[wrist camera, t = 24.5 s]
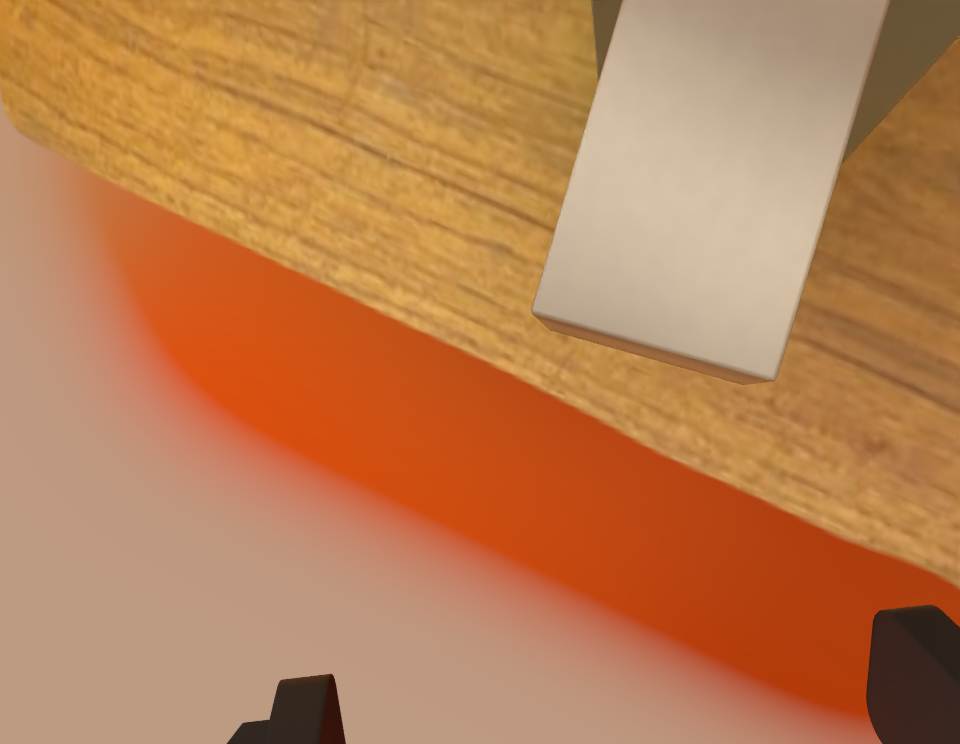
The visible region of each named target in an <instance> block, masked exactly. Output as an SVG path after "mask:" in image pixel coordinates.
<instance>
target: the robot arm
mask: <svg viewBox="0 0 960 744" xmlns="http://www.w3.org/2000/svg"><path fill="white" fill-rule="evenodd" d="M866 699H867V707H868V712H869V716H870V719H871V722H872V725H873V727H874V730H875V732H876V734H877V736H878V737H879V739H880V741H881V742H882V744H960V627H959V626H958V625H956V624H955V623H954V622H953V621H952V620H951V619H950V618H949V617H948V616H947V615H946V614H945V613H944V612H943V611H942V610H940V609H939V608H938V607H935V606H933V605H922V606H913V607H905V608H897V609H888V610H881V611H879V612H878V613H877V614H876V615H875V617H874V620H873V627H872V638H871V649H870V660H869V671H868V681H867V695H866ZM227 744H346V742H345V737H344V730H343V724H342V718H341V712H340V706H339V701H338V694H337V688H336V683H335V679H334V676H333V675H332V674H327V675H318V676H310V677H301V678H293V679H284V680H281V681H280V682H279V684H278V687H277V691H276V695H275V699H274V703H273V708H272V712H271V716H270V720H263V721H255V722H247V723H243V724H242V725H241V726H240V727H239V729H238V730H237V731H236V732H235V734H234V735H233V736H232V738H231V739H230V740H229V741H228V743H227Z"/></svg>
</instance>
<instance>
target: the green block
mask: <svg viewBox="0 0 960 744" xmlns="http://www.w3.org/2000/svg"><path fill="white" fill-rule="evenodd" d="M622 1H623V0H591V3H592V15H593V27H594V39H595V51H596V63H597V75H598V82H599V79H600V75H601V72H602V68H603V65H604V62H605V58H606V55H607V52H608V48H609V45H610V41H611V38H612V35H613V31H614V28H615V25H616V21H617V18H618V14H619V11H620V8H621V4H622ZM959 35H960V0H891V1H890V4H889V8H888V11H887V14H886V18H885V21H884V24H883V28H882V31H881V34H880V38H879V41H878V44H877V48H876V51H875V54H874V57H873V61H872V64H871V67H870V71H869V74H868V77H867V81H866V84H865V87H864V91H863V94H862V97H861V101H860V104H859V107H858V110H857V114H856V117H855V120H854V124H853V127H852V130H851V134H850V137H849V140H848V144H847V147H846V150H845V154H844V157H843V160H842V163H843V162H844V161H845V160H846V159H847V157H848V156H849V155H850V154H851V153H852V152H853V151H854V150H855V149H856V148H857V147H858V145H859V144H860V143H861V142H862V141H863V140H864V139H865V138H866V137H867V136H868V135H869V134H870V132H871V131H872V130H873V129H874V128H875V127H876V126H877V125H878V124H879V123H880V122H881V120H882V119H883V118H884V117H885V116H886V115H887V114H888V113H889V112H890V111H891V110H892V108H893V107H894V106H895V105H896V104H897V103H898V102H899V101H900V100H901V99H902V98H903V96H904V95H905V94H906V93H907V92H908V91H909V90H910V89H911V88H912V87H913V86H914V84H915V83H916V82H917V81H918V80H919V79H920V78H921V77H922V76H923V75H924V74H925V73H926V71H927V70H928V69H929V68H930V67H931V66H932V65H933V64H934V63H935V62H936V61H937V59H938V58H939V57H940V56H941V55H942V54H943V53H944V52H945V51H946V50H947V49H948V47H949V46H950V45H951V44H952V43H953V42H954V41H955V40H956V39H957V38H958V37H959ZM842 163H841V164H842Z"/></svg>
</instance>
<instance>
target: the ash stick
mask: <svg viewBox="0 0 960 744" xmlns="http://www.w3.org/2000/svg"><path fill="white" fill-rule="evenodd" d="M890 1H891V0H623V1H622V4H621V8H620V11H619V14H618V18H617V21H616V25H615V28H614V31H613V35H612V38H611V41H610V45H609V48H608V52H607V55H606V58H605V62H604V65H603V68H602V72H601V75H600V79H599V82H598V85H597V89H596V92H595V96H594V99H593V102H592V106H591V109H590V112H589V116H588V119H587V123H586V126H585V129H584V133H583V136H582V139H581V143H580V146H579V150H578V153H577V156H576V160H575V163H574V167H573V170H572V173H571V177H570V180H569V183H568V187H567V190H566V194H565V197H564V200H563V204H562V207H561V211H560V214H559V217H558V221H557V224H556V227H555V231H554V234H553V238H552V241H551V244H550V248H549V251H548V254H547V258H546V261H545V265H544V268H543V271H542V275H541V278H540V282H539V285H538V288H537V292H536V295H535V298H534V302H533V305H532V309H531V311H532V314H533V315H534V316H535V317H537V318H538V319H539V320H540V321H541V322H542V323H543V324H544V325H545V326H546V327H547V328H548V329H550V330H551V331H555V332H558V333H562V334H565V335H569V336H573V337H576V338H580V339H583V340H587V341H590V342H594V343H597V344H601V345H604V346H608V347H611V348H615V349H618V350H622V351H625V352H629V353H633V354H636V355H640V356H643V357H647V358H650V359H654V360H657V361H661V362H664V363H668V364H671V365H675V366H678V367H682V368H685V369H689V370H692V371H696V372H700V373H703V374H707V375H710V376H714V377H717V378H721V379H724V380H728V381H731V382H735V383H738V384H742V385H747V384H755V383H763V382H771V381H775V379H776V378H777V375H778V372H779V369H780V366H781V362H782V359H783V356H784V352H785V349H786V346H787V342H788V339H789V336H790V332H791V329H792V326H793V322H794V319H795V316H796V313H797V309H798V306H799V303H800V299H801V296H802V293H803V289H804V286H805V283H806V279H807V276H808V273H809V269H810V266H811V263H812V260H813V256H814V253H815V250H816V246H817V243H818V240H819V236H820V233H821V230H822V226H823V223H824V220H825V216H826V213H827V210H828V207H829V203H830V200H831V197H832V193H833V190H834V187H835V183H836V180H837V177H838V173H839V170H840V167H841V163H842V160H843V157H844V154H845V150H846V147H847V144H848V140H849V137H850V134H851V130H852V127H853V124H854V120H855V117H856V114H857V110H858V107H859V104H860V101H861V97H862V94H863V91H864V87H865V84H866V81H867V77H868V74H869V71H870V67H871V64H872V61H873V57H874V54H875V51H876V48H877V44H878V41H879V38H880V34H881V31H882V28H883V24H884V21H885V18H886V14H887V11H888V8H889V4H890Z"/></svg>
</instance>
